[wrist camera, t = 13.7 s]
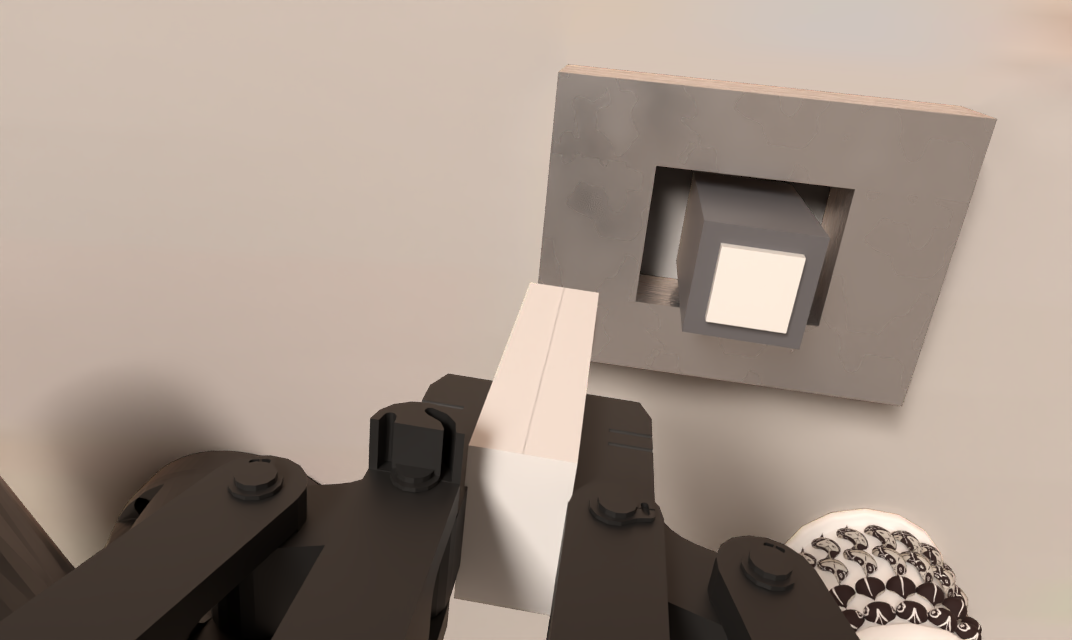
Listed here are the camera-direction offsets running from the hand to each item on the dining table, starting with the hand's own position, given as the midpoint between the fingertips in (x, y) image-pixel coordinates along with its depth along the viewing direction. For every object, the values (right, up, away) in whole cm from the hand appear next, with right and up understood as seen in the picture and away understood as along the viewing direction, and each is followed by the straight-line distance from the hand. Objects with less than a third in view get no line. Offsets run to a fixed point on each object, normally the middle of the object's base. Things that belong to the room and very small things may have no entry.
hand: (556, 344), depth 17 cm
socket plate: (+8, +5, +17) cm, 20 cm away
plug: (+8, +5, +17) cm, 20 cm away
